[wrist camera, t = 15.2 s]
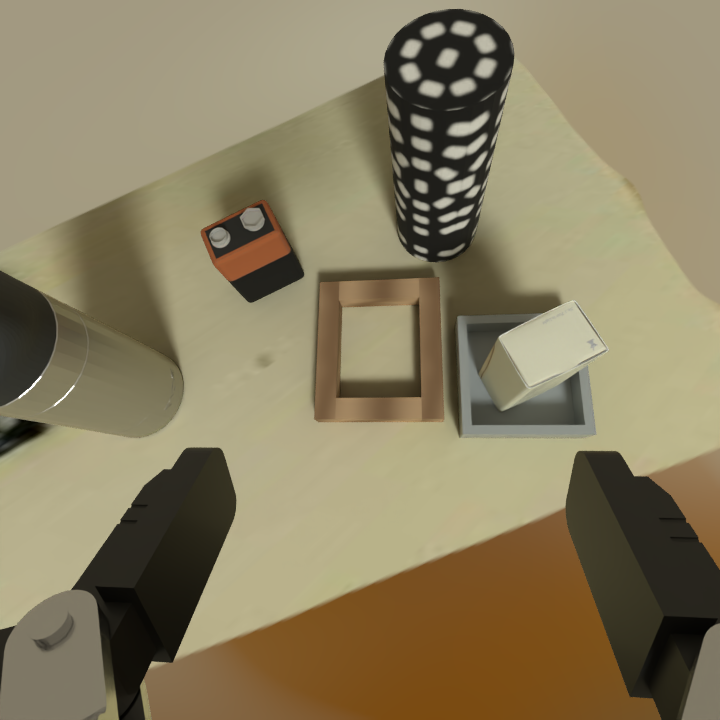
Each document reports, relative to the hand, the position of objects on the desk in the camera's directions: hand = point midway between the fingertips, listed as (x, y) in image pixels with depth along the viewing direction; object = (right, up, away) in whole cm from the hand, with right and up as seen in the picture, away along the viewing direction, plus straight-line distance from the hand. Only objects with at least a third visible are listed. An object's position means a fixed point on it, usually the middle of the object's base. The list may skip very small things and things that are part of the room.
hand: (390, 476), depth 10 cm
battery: (-10, +12, +39) cm, 42 cm away
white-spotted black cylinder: (+8, +17, +38) cm, 42 cm away
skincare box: (+14, +1, +32) cm, 35 cm away
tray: (+14, +1, +33) cm, 35 cm away
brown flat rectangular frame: (+1, +3, +35) cm, 35 cm away
